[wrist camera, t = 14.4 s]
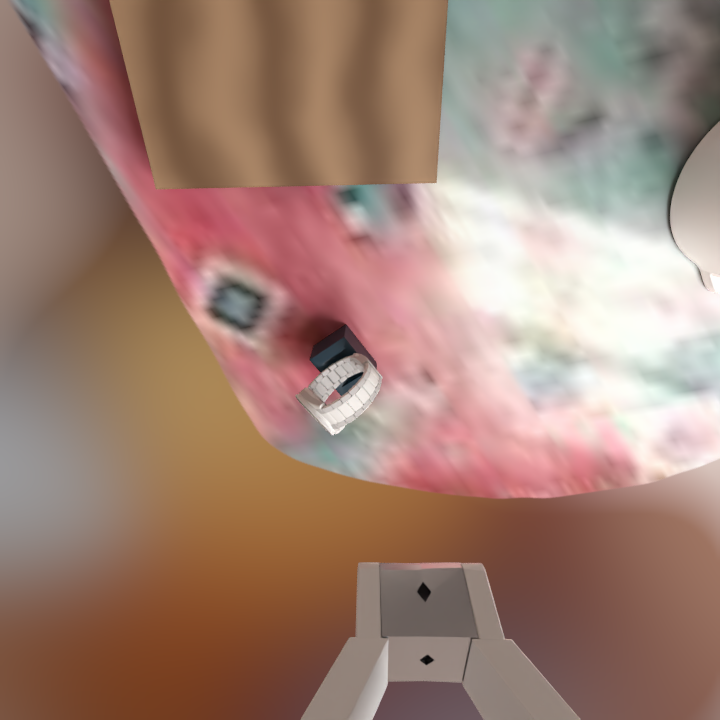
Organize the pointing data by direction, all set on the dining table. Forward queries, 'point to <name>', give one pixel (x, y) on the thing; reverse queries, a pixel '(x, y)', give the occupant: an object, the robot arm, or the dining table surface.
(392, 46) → the brown flat block
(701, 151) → the robot arm
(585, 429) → the dining table surface
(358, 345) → the watch
